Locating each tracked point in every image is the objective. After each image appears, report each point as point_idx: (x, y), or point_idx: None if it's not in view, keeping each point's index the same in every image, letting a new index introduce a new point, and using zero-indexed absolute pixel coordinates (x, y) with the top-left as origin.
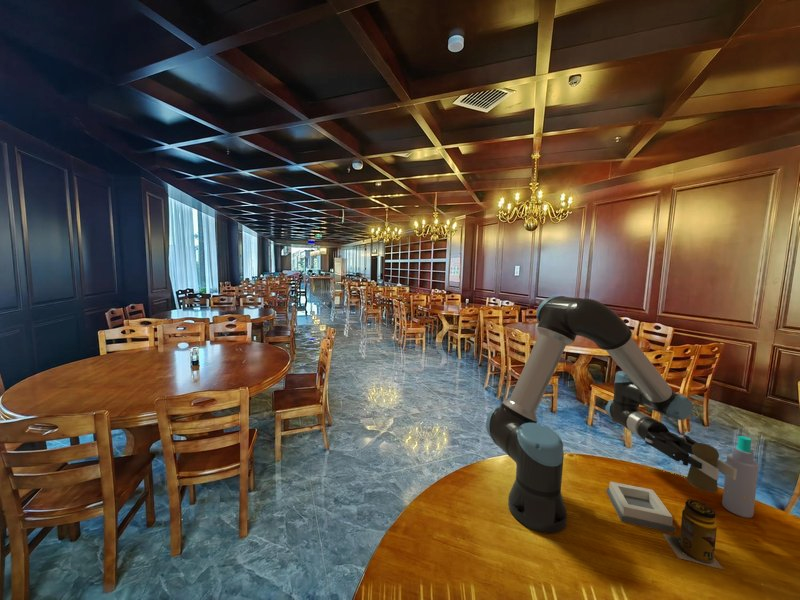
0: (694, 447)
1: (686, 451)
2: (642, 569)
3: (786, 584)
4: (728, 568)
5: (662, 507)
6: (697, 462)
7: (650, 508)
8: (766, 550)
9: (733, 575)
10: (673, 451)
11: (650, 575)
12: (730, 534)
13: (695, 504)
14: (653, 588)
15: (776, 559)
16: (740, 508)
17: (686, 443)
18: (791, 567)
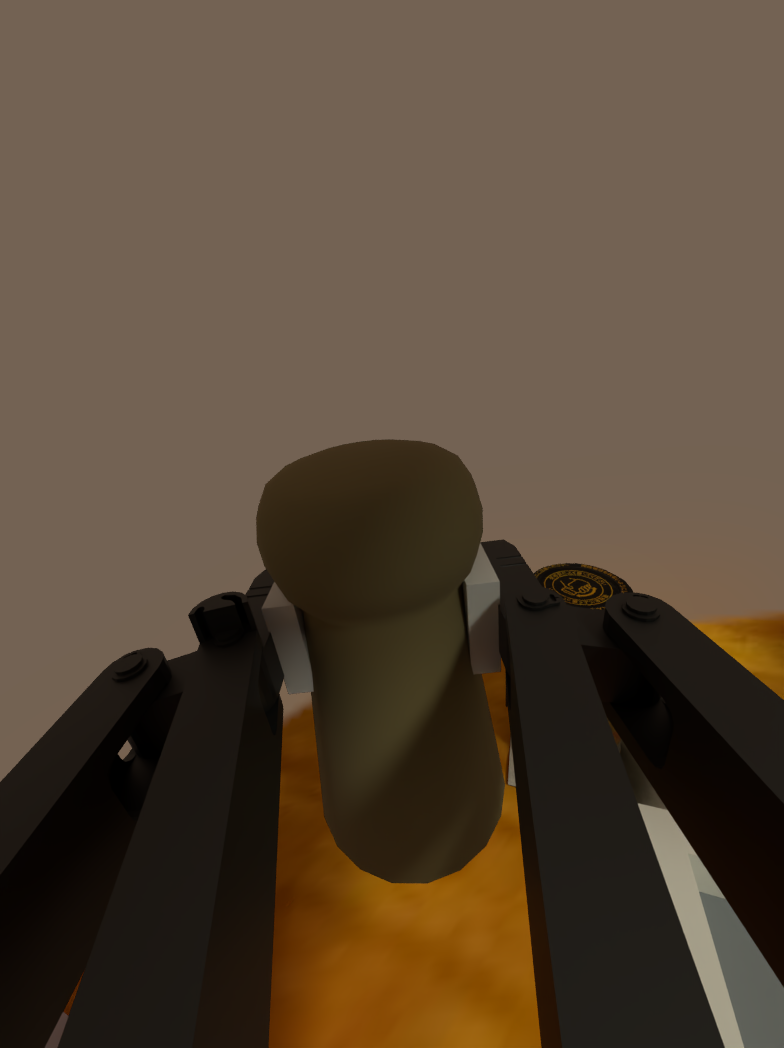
0: (472, 484)
1: (261, 1015)
2: (774, 665)
3: None
4: (494, 694)
5: (678, 896)
6: (500, 548)
7: (745, 1036)
8: (284, 773)
9: (498, 676)
10: (692, 632)
11: (749, 652)
12: (332, 853)
13: (592, 596)
14: (742, 625)
15: (300, 739)
16: (61, 1017)
17: (173, 984)
18: (292, 716)
